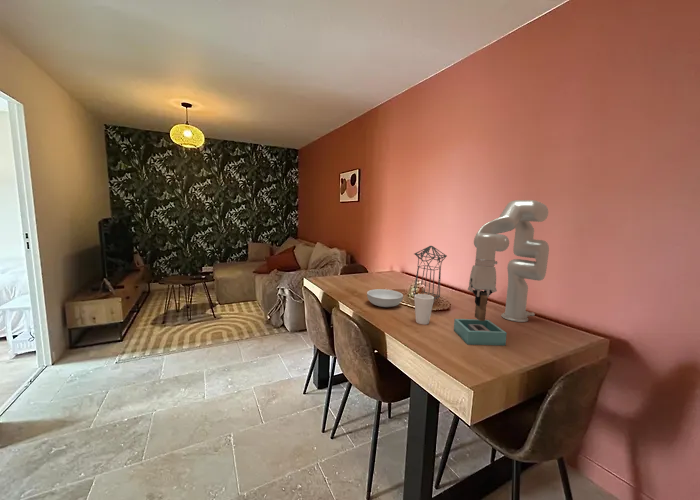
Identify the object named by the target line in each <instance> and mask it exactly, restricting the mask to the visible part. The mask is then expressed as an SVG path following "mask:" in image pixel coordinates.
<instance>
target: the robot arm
mask: <svg viewBox="0 0 700 500" xmlns="http://www.w3.org/2000/svg"><path fill="white" fill-rule="evenodd" d="M548 217H549V208H548V206H547V205H546V204H545V203H543V202H541V201H538V200H535V199H534V200H533V199H523V200H522V199H518V200H517V199H515V200H511V201H509V202H508V203H507V204H506V206H505V207H504V209H503V210H502V211H501V213H500V214H499V216H498V217H496V218H495V219H492V220H490V221H489V222H486V223H485V224H483V225H482V226H481V227H480V228H479V229H478V231H477V232H476V233H475V236H474V239H473V245H474V248H476V250H475V251H476V252H475V261H474V262H475V263H474V265H472V267H471V271H470V276H469V282H468V288H467V290H468V291H469V292H471V293H473V294H474V296H475V297H474V303H475V306H476V305H477V306H480V290H482V291H484V292H486V293H487V301H488V299H489V297H490V296H491V295H492V294H493V293H496V292H498V289H497V270H496V269H497V268H496V266H495V265H498V260H496V252H504V251H506V250H507V249H508V248H509V246H510V239H509V237H508V236H507V235H504V233H507V232H511V231H513V230H515V231H514V239H513V247H512V248H513V249H512V250H513V251H512V252H513V255H515V256H516V257H520V258H514V259H511V260H509V262H508V263H507V267H506V269H507V288H506V298H505V299H506V301H505V311H504V312H502V313H501V317H502V318H503V319H506V320H508V321H510V322H519V323H526V322H528V321H529V318H528V317H535V314H536V313H535V312H533V311H532V312H530V311H527V300H528V293H529V292H528V291H529V286H528V285H529V284H528V283H527V281H526V280H532V281H543V280H544V279H545V277H546V274H547V269H548V260H549V253H550V252H549V251H550V247H549V246H550V245H549V244H548V241H546V240H542V239H534V235H535V228H534V226H533V225H532V223H531V222H538V223H539V222H540V223H541V222H544V221H546V219H547V218H548ZM521 258H528V259H521ZM529 258H530V259H535V260H529Z"/></svg>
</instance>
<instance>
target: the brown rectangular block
mask: <svg viewBox="0 0 700 500" xmlns="http://www.w3.org/2000/svg"><path fill="white" fill-rule="evenodd" d="M487 305H488V300H487V293H486V292H484V290H480V306H477V305H476V304H475V308H474V309H475V310H474V318H476V319H478V320H479V321H485V320H486V317H487V316H486V314H487V313H486V312H487Z"/></svg>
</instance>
